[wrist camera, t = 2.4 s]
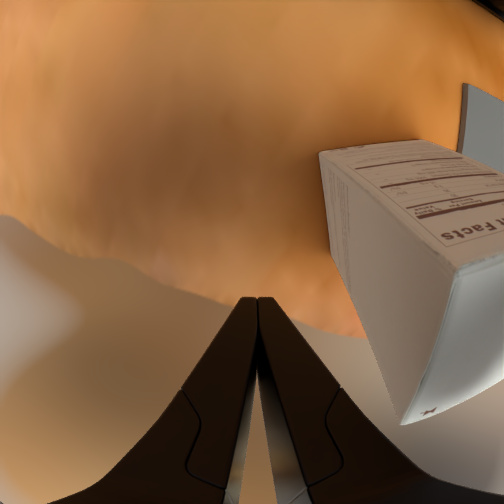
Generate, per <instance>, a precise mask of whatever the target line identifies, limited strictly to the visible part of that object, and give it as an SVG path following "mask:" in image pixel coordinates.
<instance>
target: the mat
mask: <svg viewBox="0 0 504 504" xmlns="http://www.w3.org/2000/svg"><path fill="white" fill-rule="evenodd" d="M457 152H458V153H461V154H462V155H465V156H467V157H470V158H472V159H474V160H476V161H478V162H481V163H483V164H485V165H487V166H489V167H491V168H493V169H495V170H497V171H499V172H501V173H503V174H504V102H503V101H501V100H499V99H498V98H496V97H494V96H492V95H490V94H488V93H486V92H484V91H482V90H480V89H478V88H476V87H474V86H472V85H470V84H465V83H463V99H462V113H461V124H460V133H459V141H458V148H457Z"/></svg>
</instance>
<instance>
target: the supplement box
mask: <svg viewBox="0 0 504 504" xmlns="http://www.w3.org/2000/svg"><path fill="white" fill-rule="evenodd" d="M319 161H320V169H321V177H322V184H323V191H324V199H325V206H326V214H327V222H328V231H329V240H330V250H331V256H332V258H333V260H334V262H335V264H336V266H337V269H338V271H339V273H340V275H341V277H342V279H343V282H344V284H345V286H346V288H347V290H348V293H349V295H350V297H351V300H352V302H353V304H354V306H355V309H356V311H357V313H358V316H359V318H360V320H361V323H362V325H363V328H364V330H365V332H366V335H367V337H368V340H369V342H370V345H371V347H372V350H373V352H374V355H375V357H376V360H377V363H378V365H379V368H380V370H381V373H382V376H383V379H384V381H385V384H386V387H387V389H388V392H389V395H390V398H391V401H392V404H393V407H394V409H395V412H396V415H397V418H398V421H399V424H400V425H406V424H410V423H413V422H416V421H419V420H422V419H425V418H428V417H431V416H433V415H435V414H438V413H440V412H442V411H445V410H447V409H449V408H451V407H453V406H455V405H457V404H459V403H461V402H463V401H465V400H467V399H469V398H471V397H473V396H475V395H477V394H478V393H480V392H482V391H484V390H486V389H487V388H489V387H491V386H492V385H494V384H496V383H497V382H499V381H501V380H502V379H504V174H503V173H501V172H499V171H497V170H495V169H493V168H491V167H489V166H487V165H485V164H483V163H481V162H478V161H476V160H474V159H472V158H470V157H467V156H465V155H462V154H461V153H458V152H455V151H453V150H450V149H448V148H445V147H443V146H440V145H438V144H435V143H432V142H429V141H426V140H423V139H419V140H410V141H399V142H389V143H379V144H371V145H363V146H355V147H347V148H340V149H334V150H327V151H321V152H319Z"/></svg>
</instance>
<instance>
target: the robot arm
mask: <svg viewBox="0 0 504 504" xmlns="http://www.w3.org/2000/svg"><path fill="white" fill-rule="evenodd" d="M473 1H474V2H476V3H477V4H479V5H481V6H482V7H484V8H485V9H487V10H488V11H490V12H491V13H492V14H494V15H495V16H497V17H498V18H499V19H501V20H502V21H503V22H504V0H473ZM256 375H257V377H258V385H259V391H260V398H261V404H262V411H263V418H264V424H265V430H266V436H267V442H268V449H269V455H270V462H271V467H272V474H273V479H274V485H275V491H276V498H277V503H278V504H504V495H501V494H495V493H490V492H485V491H481V490H477V489H473V488H469V487H465V486H461V485H457V484H454V483H450V482H447V481H444V480H441V479H438V478H435V477H434V476H431V475H430V474H428V473H426V472H424V471H423V470H422V469H420V468H419V467H418V466H417V465H416V464H414V463H413V462H412V461H411V460H410V459H409V458H408V457H407V456H406V455H405V454H403V452H402V451H400V450H399V449H398V448H397V447H396V446H395V445H394V444H393V443H392V442H391V441H390V440H389V439H388V438H387V437H386V436H385V435H384V434H383V433H382V432H381V431H379V429H378V428H377V427H376V426H375V425H374V424H373V423H372V422H371V421H370V420H369V419H368V418H367V417H366V416H365V415H364V414H363V412H362V411H361V410H360V409H359V408H358V407H357V405H356V404H355V403H354V402H353V401H352V399H351V398H350V397H349V396H348V394H347V393H346V392H345V391H344V389H343V388H340V384H339V383H338V381H337V380H336V379H335V378H334V376H333V375H332V374H331V372H330V371H329V370H328V369H327V367H326V366H325V365H324V363H323V362H322V361H321V359H320V358H319V357H318V355H317V354H316V353H315V352H314V350H313V349H312V348H311V346H310V345H309V344H308V343H307V341H306V340H305V339H304V337H303V336H302V335H301V333H300V332H299V331H298V329H297V328H296V327H295V326H294V324H293V323H292V321H291V320H290V319H289V318H288V316H287V315H286V314H285V312H284V311H283V310H282V308H281V307H280V306H279V304H278V303H277V302H276V300H275V299H274V298H273V297H259V298H258V299H257V298H256V297H241V298H240V300H239V301H238V303H237V304H236V306H235V307H234V309H233V310H232V312H231V313H230V315H229V316H228V318H227V319H226V321H225V322H224V324H223V325H222V327H221V328H220V330H219V331H218V333H217V334H216V336H215V338H214V339H213V341H212V342H211V343H210V345H209V347H208V348H207V349H206V351H205V353H204V354H203V356H202V357H201V359H200V360H199V362H198V363H197V364H196V366H195V368H194V369H193V371H192V372H191V374H190V375H189V376H188V378H187V379H186V381H185V382H184V384H183V385H182V387H181V390H179V391H178V392H177V394H176V395H175V397H174V398H173V400H172V401H171V403H170V404H169V405H168V407H167V408H166V409H165V411H164V412H163V413H162V415H161V416H160V417H159V419H158V420H157V421H156V422H155V423H154V424H153V426H152V427H151V428H150V429H149V430H148V431H147V433H146V434H145V435H144V436H143V437H142V438H141V439H140V440H139V441H138V442H137V443H136V445H135V446H134V447H133V448H132V449H131V450H130V451H129V452H128V453H127V454H126V455H125V456H124V457H123V458H122V459H121V460H120V461H119V462H118V463H117V464H116V466H114V468H112V470H111V471H109V472H108V473H107V474H106V475H105V476H104V477H103V478H102V479H101V480H99V481H98V482H96V483H95V484H93V485H92V486H90V487H88V488H86V489H85V490H82V491H80V492H77V493H75V494H72V495H70V496H67V497H65V498H62V499H59V500H57V501H53V502H51V503H47V504H238V503H239V496H240V491H241V484H242V477H243V470H244V464H245V458H246V450H247V444H248V437H249V430H250V422H251V415H252V408H253V401H254V393H255V385H256ZM0 504H3V503H2V502H0Z"/></svg>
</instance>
